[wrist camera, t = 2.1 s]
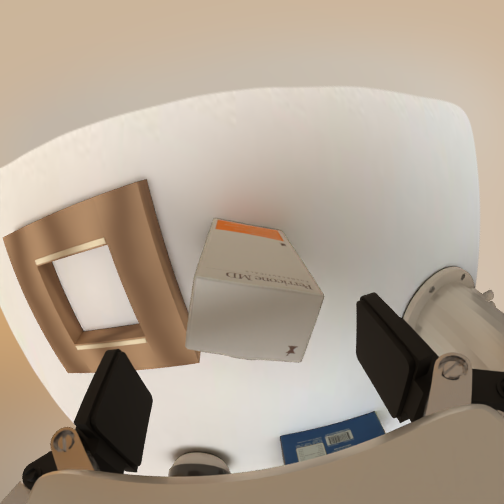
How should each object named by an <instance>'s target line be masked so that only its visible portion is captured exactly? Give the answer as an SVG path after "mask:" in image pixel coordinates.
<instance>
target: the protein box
mask: <svg viewBox="0 0 504 504" xmlns="http://www.w3.org/2000/svg"><path fill="white" fill-rule="evenodd" d="M384 434H386V433H385V431H384V429H383V427H382V425H381V423H380V421H379V419H378V417H377V415H376V413H375V412H372V413H369V414H366V415H363V416H360V417H356V418H353V419H350V420H347V421H343V422H340V423H336V424H332V425H328V426H325V427H321V428H316V429H312V430H308V431H303V432H298V433H293V434H288V435H283V436H280V441H281V447H282V455H283V462H284V465H288V464H293V463H297V462H301V461H305V460H309V459H313V458H317V457H320V456H324V455H327V454H331V453H334V452H337V451H340V450H343V449H346V448H349V447H352V446H355V445H357V444H360V443H363V442H366V441H368V440H371V439H374V438H376V437H379V436H381V435H384Z"/></svg>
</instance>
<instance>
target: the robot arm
mask: <svg viewBox="0 0 504 504" xmlns="http://www.w3.org/2000/svg"><path fill="white" fill-rule="evenodd" d="M493 297H494V294H493V292H492V290H488V291H487V292H485V293H483V294H482V293H480V292H479V291H477V290H476V289H474V282H473V279H472V277H471V275H470V274H469V273H468V272H467V271H465V270H463V269H462V268H459V267H448V268H445V269H443V270H441V271H439V272H437V273H436V274H434V275H433V276H432V277H431V278H430V279H428V280H427V281H426V282H425V283H424V284H423V285H422V287H421V288H420V289H419V290H418V292H417V293H416V294H415V296H414V297H413V299H412V300H411V302H410V304H409V306H408V308H407V310H406V312H405V314H404V318H400V317H399V316H398V315H397V314H396V313H395V312H394V311H393V310H392V309H391V308H390V307H389V306H388V305H387V304H386V303H385V302H384V301H383V300H382V299H381V298H380V297H379V296H378V295H377V294H376V293H370V294H367V295H364V296H361V298H360V301H358V302H357V336H356V355H357V358H358V360H359V362H360V364H361V365H362V367H363V369H364V370H365V372H366V374H367V375H368V377H369V379H370V380H371V382H372V384H373V385H374V387H375V389H376V390H377V392H378V394H379V395H380V397H381V399H382V401H383V402H384V404H385V406H386V408H387V409H388V411H389V413H390V414H391V416H392V417H393V418H396V417H397V419H398V420H399V422H400V423H402V422H404V421H406V420H408V419H410V421H411V423H409V424H407V425H404V426H402V427H400V428H398V429H395V430H393V431H391V432H388V433H386V434H384V435H381V436H379V437H376V438H374V439H371V440H368V441H366V442H363V443H360V444H357V445H355V446H352V447H349V448H346V449H343V450H340V451H337V452H334V453H331V454H327V455H324V456H320V457H317V458H313V459H309V460H305V461H301V462H297V463H293V464H288V465H284V466H279V467H274V468H268V469H262V470H256V471H249V472H242V473H234V474H224V475H211V476H190V477H161V476H141V475H128V474H124V470H125V471H127V472H137V469H138V466H140V465H141V461H142V455H143V449H144V444H145V438H146V433H147V427H148V422H149V417H150V412H151V407H152V402H153V399H152V395H151V394H150V392H149V391H148V389H147V388H146V386H145V384H144V383H143V381H142V380H141V378H140V377H139V375H138V373H137V372H136V370H135V368H134V367H133V365H132V363H131V362H130V360H129V358H128V356H127V355H126V353H125V352H122V351H121V350H120V349H112V350H107V351H106V352H105V354H104V356H103V358H102V360H101V362H100V364H99V366H98V368H97V370H96V372H95V374H94V377H93V379H92V381H91V383H90V385H89V388H88V390H87V392H86V394H85V397H84V399H83V401H82V404H81V406H80V408H79V411H78V413H77V416H76V418H75V420H74V424H75V425H76V429H73V428H71V427H64V428H61V429H59V430H58V431H56V433H55V434H54V435H53V437H52V439H51V443H50V445H51V450H52V451H50V452H48V453H47V454H45V455H44V456H42V457H40V458H39V459H37V460H35V461H34V462H32V463H30V464H29V465H28V466H27V467H26V468H25V469H24V472H23V476H22V479H23V483H22V482H21V481H20V482H19V483H18V484H17V485H16V486H15V487H14V488H13V490H12V491H11V492H10V493H9V494H8V495H7V496H6V497H5V498H4V499H3V501H2V502H1V504H504V313H502V312H501V311H500V310H498V309H497V308H496V306H495V304H494V303H493V302H492V301H490V300H491V299H493ZM488 301H490V302H488Z"/></svg>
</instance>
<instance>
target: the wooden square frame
mask: <svg viewBox="0 0 504 504" xmlns="http://www.w3.org/2000/svg"><path fill="white" fill-rule="evenodd" d="M3 240H4V244H5V247H6V250H7V253H8V255H9V258H10V261H11V264H12V266H13V269H14V272H15V274H16V277H17V279H18V282H19V284H20V286H21V289H22V291H23V293H24V295H25V298H26V300H27V302H28V304H29V306H30V308H31V310H32V312H33V314H34V316H35V318H36V320H37V322H38V324H39V326H40V328H41V330H42V331H43V333H44V335H45V337H46V339H47V340H48V342H49V344H50V345H51V347H52V349H53V350H54V352H55V354H56V355H57V357H58V359H59V360H60V362H61V363H62V365H63V366H64V368H65V369H66V371H67V372H68V373H95V372H96V370H97V368H98V366H99V364H100V362H101V360H102V358H103V356H104V354H105V352H106V351H107V350H112V349H120V350H121V351H122V352H125V353H126V355H127V356H128V358H129V360H130V362H131V363H132V365H133V367H134V368H135V370H144V369H154V368H163V367H172V366H180V365H188V364H195V363H199V361H200V352H201V351H195V350H190V349H187V348H186V347H185V342H186V331H187V323H188V315H189V314H188V312H187V309H186V306H185V303H184V301H183V298H182V295H181V292H180V289H179V287H178V284H177V281H176V278H175V275H174V272H173V269H172V266H171V263H170V260H169V257H168V253H167V250H166V247H165V244H164V241H163V237H162V234H161V231H160V227H159V224H158V220H157V217H156V213H155V210H154V206H153V202H152V199H151V195H150V191H149V187H148V183H147V179H146V180H142V181H139V182H135V183H132V184H129V185H126V186H123V187H120V188H117V189H115V190H112V191H109V192H106V193H103V194H101V195H98V196H95V197H93V198H90V199H87V200H85V201H82V202H80V203H77V204H75V205H72V206H70V207H67V208H65V209H63V210H60V211H58V212H56V213H53V214H51V215H49V216H46V217H44V218H42V219H40V220H38V221H35V222H33V223H31V224H29V225H27V226H25V227H23V228H21V229H19V230H17V231H15V232H13V233H11V234H9V235H7V236H5V237H3ZM104 245H108V247H109V250H110V253H111V255H112V258H113V261H114V264H115V266H116V269H117V272H118V274H119V277H120V280H121V282H122V285H123V287H124V290H125V292H126V294H127V297H128V299H129V302H130V304H131V306H132V309H133V311H134V313H135V315H136V318H137V320H138V322H139V324H134V325H127V326H121V327H114V328H107V329H100V330H92V331H84V332H83V330H82V328H81V326H80V324H79V322H78V320H77V318H76V316H75V314H74V312H73V310H72V308H71V306H70V304H69V302H68V299H67V297H66V295H65V293H64V291H63V288H62V286H61V284H60V281H59V279H58V276H57V274H56V271H55V269H54V266H53V264H52V261H55V260H58V259H62V258H65V257H68V256H71V255H74V254H78V253H81V252H84V251H87V250H91V249H94V248H98V247H101V246H104Z"/></svg>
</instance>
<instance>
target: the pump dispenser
mask: <svg viewBox="0 0 504 504" xmlns="http://www.w3.org/2000/svg"><path fill="white" fill-rule="evenodd" d="M224 474H231V473H230V471H229V468H228V466H227V465H226V464H225V462H224V461H222V460H221V459H220V458H218V457H216V456H214V455H211V454H208V453H201V452H194V453H188V454H184V455H182V456H180V457H179V458H178V459H177V460H176V461H175V462H174V464H173V466H172V467H171V468H170V469H169V474H168V477H190V476H211V475H224Z"/></svg>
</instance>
